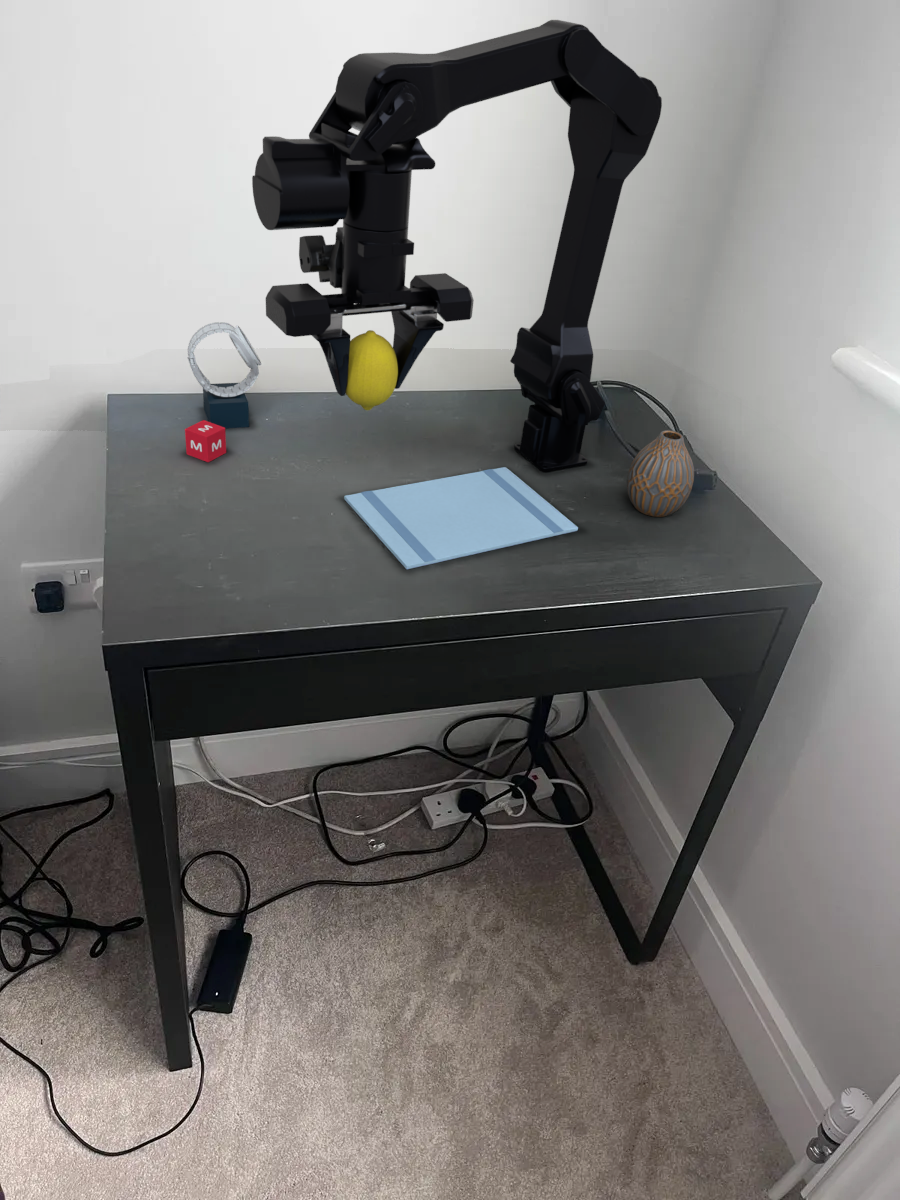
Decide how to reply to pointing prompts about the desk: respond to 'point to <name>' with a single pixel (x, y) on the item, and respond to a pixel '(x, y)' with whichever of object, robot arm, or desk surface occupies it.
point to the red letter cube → (205, 441)
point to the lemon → (371, 370)
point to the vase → (661, 475)
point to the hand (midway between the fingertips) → (368, 390)
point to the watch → (226, 399)
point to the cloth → (457, 516)
